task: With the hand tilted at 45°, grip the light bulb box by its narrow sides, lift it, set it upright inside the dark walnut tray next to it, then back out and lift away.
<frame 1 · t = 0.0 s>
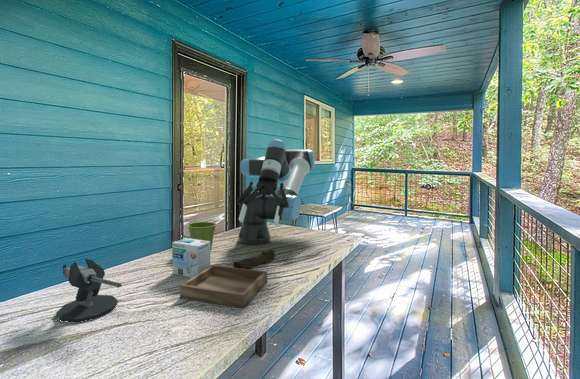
hand: (257, 222, 106), 15 cm above the table, tool tilted 35°, fingers open, 13 cm apart
hand tool: (255, 265, 107), on the table
gun turret: (96, 312, 72), on the table
walnut tray: (226, 289, 86), on the table
plant pot: (202, 251, 122), on the table
light bulb box: (191, 273, 98), on the table
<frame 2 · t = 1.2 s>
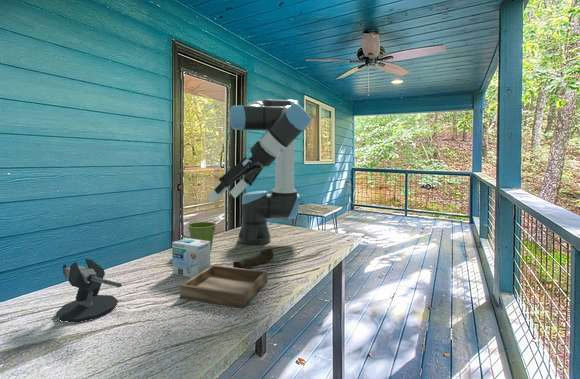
hand: (222, 197, 93), 26 cm above the table, tool tilted 45°, fingers open, 13 cm apart
nothing on the table moved.
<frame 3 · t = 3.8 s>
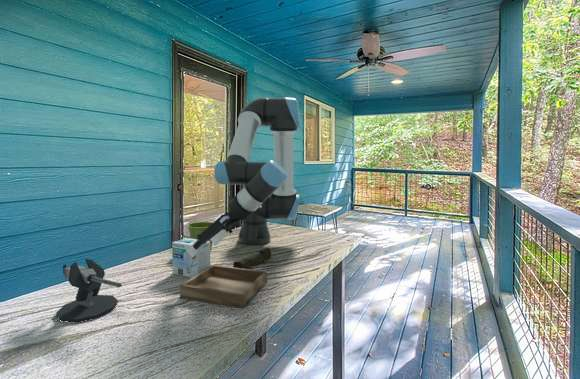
hand: (202, 247, 95), 9 cm above the table, tool tilted 45°, fingers open, 13 cm apart
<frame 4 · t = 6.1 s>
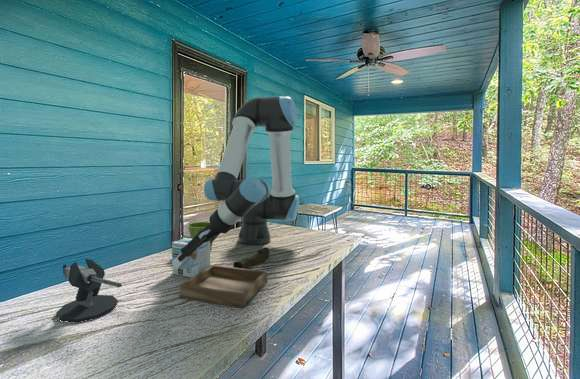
hand: (182, 261, 99), 4 cm above the table, tool tilted 45°, fingers closed on light bulb box, 7 cm apart
light bulb box: (191, 273, 98), on the table, touching gripper
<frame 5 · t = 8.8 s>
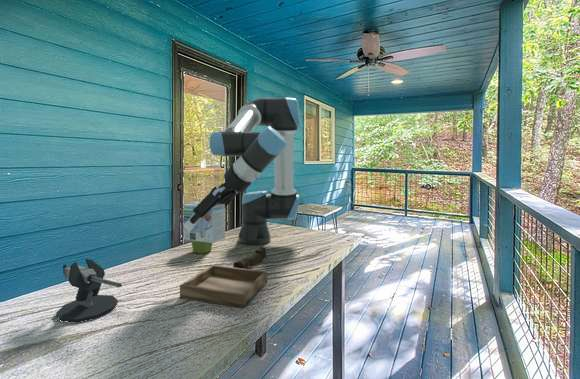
hand: (194, 226, 90), 17 cm above the table, tool tilted 45°, fingers closed on light bulb box, 7 cm apart
light bulb box: (204, 239, 90), point 13 cm above the table, touching gripper
when the fingers open (6 cm above the table, at t = 11.7 s): light bulb box drops 1 cm, resting on walnut tray.
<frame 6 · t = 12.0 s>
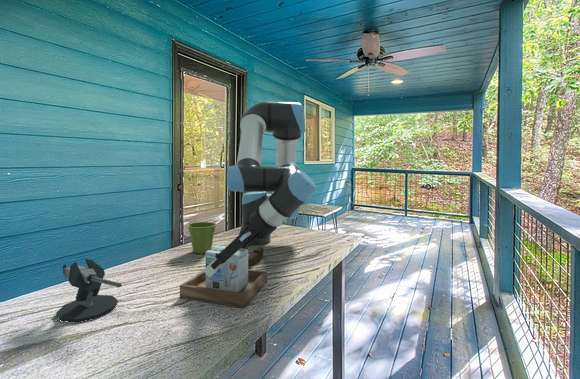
hand: (217, 266, 86), 7 cm above the table, tool tilted 45°, fingers open, 10 cm apart
light bulb box: (227, 286, 86), point 1 cm above the table, touching walnut tray
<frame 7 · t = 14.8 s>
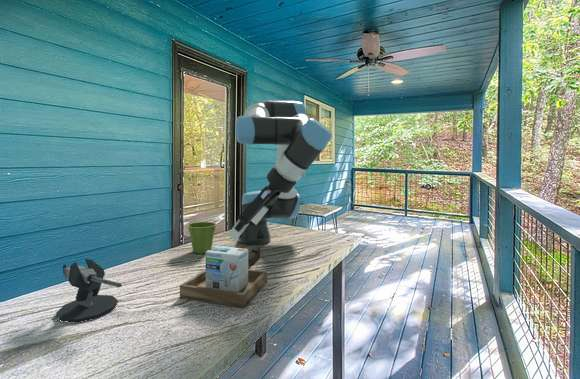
hand: (243, 229, 85), 18 cm above the table, tool tilted 40°, fingers open, 13 cm apart
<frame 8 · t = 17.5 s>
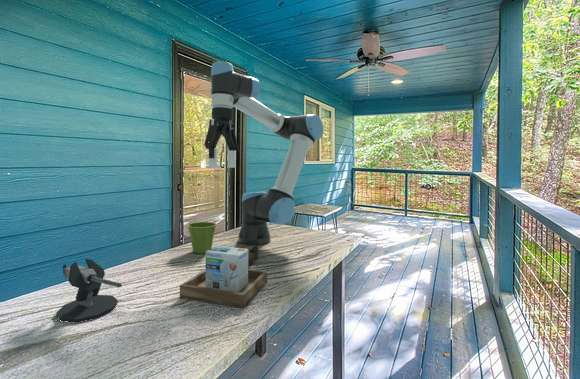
hand: (222, 168, 107), 35 cm above the table, tool pointing down, fingers open, 13 cm apart
at the end: light bulb box inside the target area on the walnut tray (0.3 cm from its centre), point 0.8 cm above the walnut tray's base; light bulb box tilted 0°; the gripper is holding nothing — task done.
